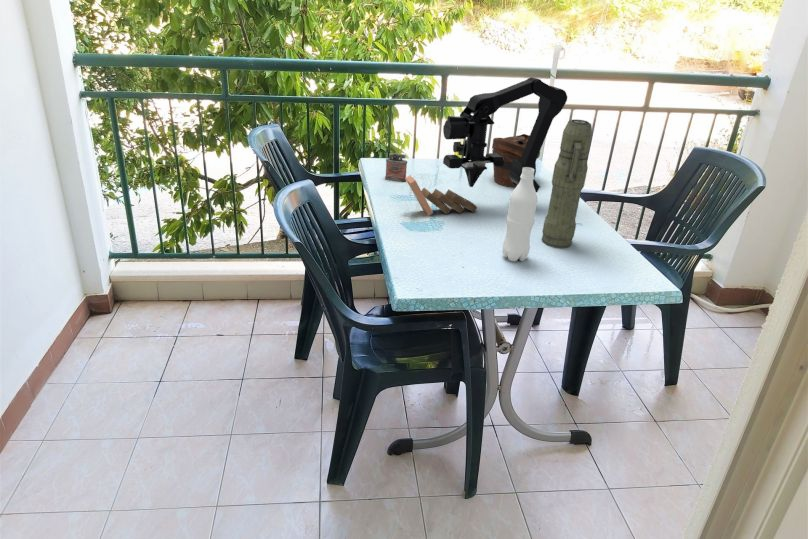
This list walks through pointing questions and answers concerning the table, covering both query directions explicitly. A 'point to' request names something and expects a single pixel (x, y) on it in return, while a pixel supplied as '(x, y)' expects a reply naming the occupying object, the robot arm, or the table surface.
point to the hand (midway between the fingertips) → (470, 186)
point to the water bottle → (520, 217)
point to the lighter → (396, 167)
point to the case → (508, 156)
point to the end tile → (419, 195)
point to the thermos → (567, 184)
